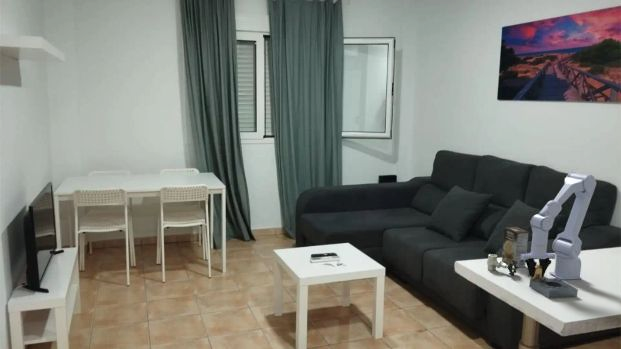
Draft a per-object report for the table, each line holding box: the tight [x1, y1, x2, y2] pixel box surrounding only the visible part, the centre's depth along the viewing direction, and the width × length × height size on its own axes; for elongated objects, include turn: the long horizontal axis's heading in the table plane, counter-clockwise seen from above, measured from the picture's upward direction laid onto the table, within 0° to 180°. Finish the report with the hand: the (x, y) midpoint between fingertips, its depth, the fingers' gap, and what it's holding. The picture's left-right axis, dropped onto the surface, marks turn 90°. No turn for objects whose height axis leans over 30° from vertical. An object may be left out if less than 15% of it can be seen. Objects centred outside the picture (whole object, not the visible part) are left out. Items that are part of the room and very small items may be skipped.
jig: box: [528, 277, 579, 299], centre depth 196 cm, size 12×12×3 cm
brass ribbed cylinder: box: [530, 264, 543, 279], centre depth 208 cm, size 4×4×6 cm
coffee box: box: [501, 226, 530, 268], centre depth 228 cm, size 9×6×16 cm
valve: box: [486, 253, 519, 277], centre depth 217 cm, size 7×7×12 cm
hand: (536, 276), depth 208 cm, fingers closed on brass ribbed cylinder, 4 cm apart
